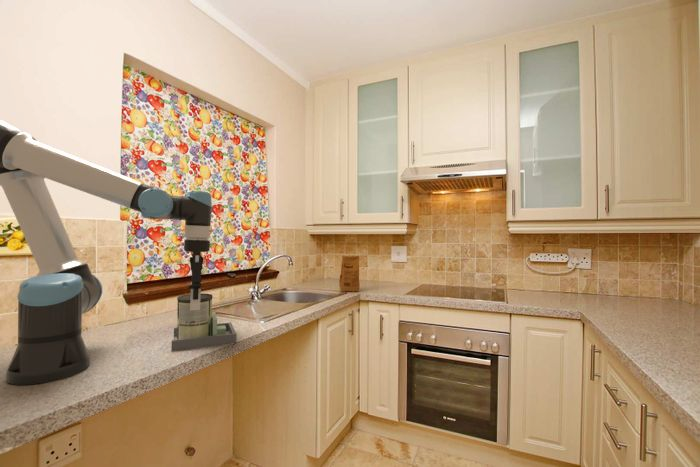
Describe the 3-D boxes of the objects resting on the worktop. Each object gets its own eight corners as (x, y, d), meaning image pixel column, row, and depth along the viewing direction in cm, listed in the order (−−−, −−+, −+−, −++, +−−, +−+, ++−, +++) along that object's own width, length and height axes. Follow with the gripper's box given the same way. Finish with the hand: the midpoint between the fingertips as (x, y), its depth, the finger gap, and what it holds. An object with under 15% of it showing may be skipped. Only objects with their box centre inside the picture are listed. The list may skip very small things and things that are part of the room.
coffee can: (170, 340, 106) (171, 296, 106) (202, 333, 113) (203, 292, 114) (185, 347, 99) (186, 300, 99) (217, 339, 107) (218, 296, 107)
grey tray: (171, 351, 97) (171, 340, 97) (173, 336, 110) (174, 327, 110) (236, 343, 104) (236, 333, 105) (231, 330, 118) (231, 322, 118)
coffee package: (339, 289, 211) (339, 255, 211) (358, 289, 212) (359, 255, 212) (339, 292, 201) (339, 256, 201) (359, 292, 202) (360, 256, 202)
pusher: (212, 342, 103) (213, 320, 103) (210, 332, 114) (211, 311, 114) (227, 341, 105) (227, 318, 105) (223, 330, 116) (224, 310, 116)
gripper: (212, 240, 97) (209, 313, 97) (208, 239, 119) (206, 297, 119) (183, 239, 94) (180, 315, 93) (185, 238, 116) (182, 299, 116)
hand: (194, 305), depth 106 cm, fingers open, 13 cm apart
